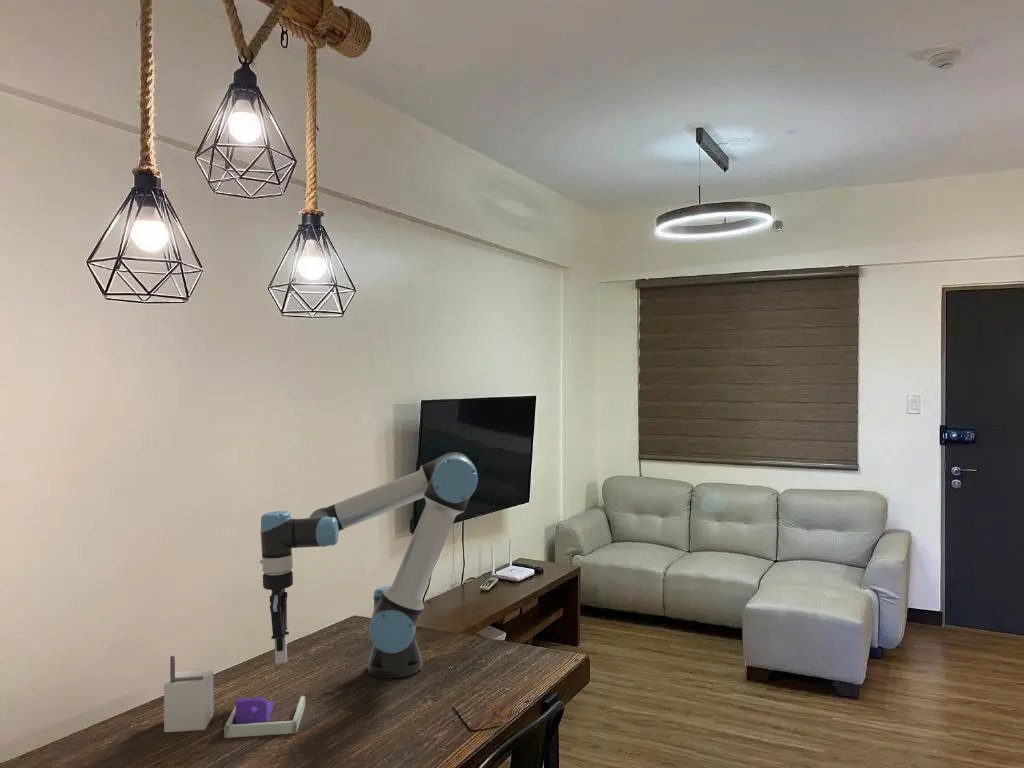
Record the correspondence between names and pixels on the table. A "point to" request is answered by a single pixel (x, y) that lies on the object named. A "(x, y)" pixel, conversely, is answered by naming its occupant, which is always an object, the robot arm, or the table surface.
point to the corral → (264, 725)
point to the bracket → (253, 710)
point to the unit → (188, 700)
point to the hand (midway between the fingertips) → (281, 661)
